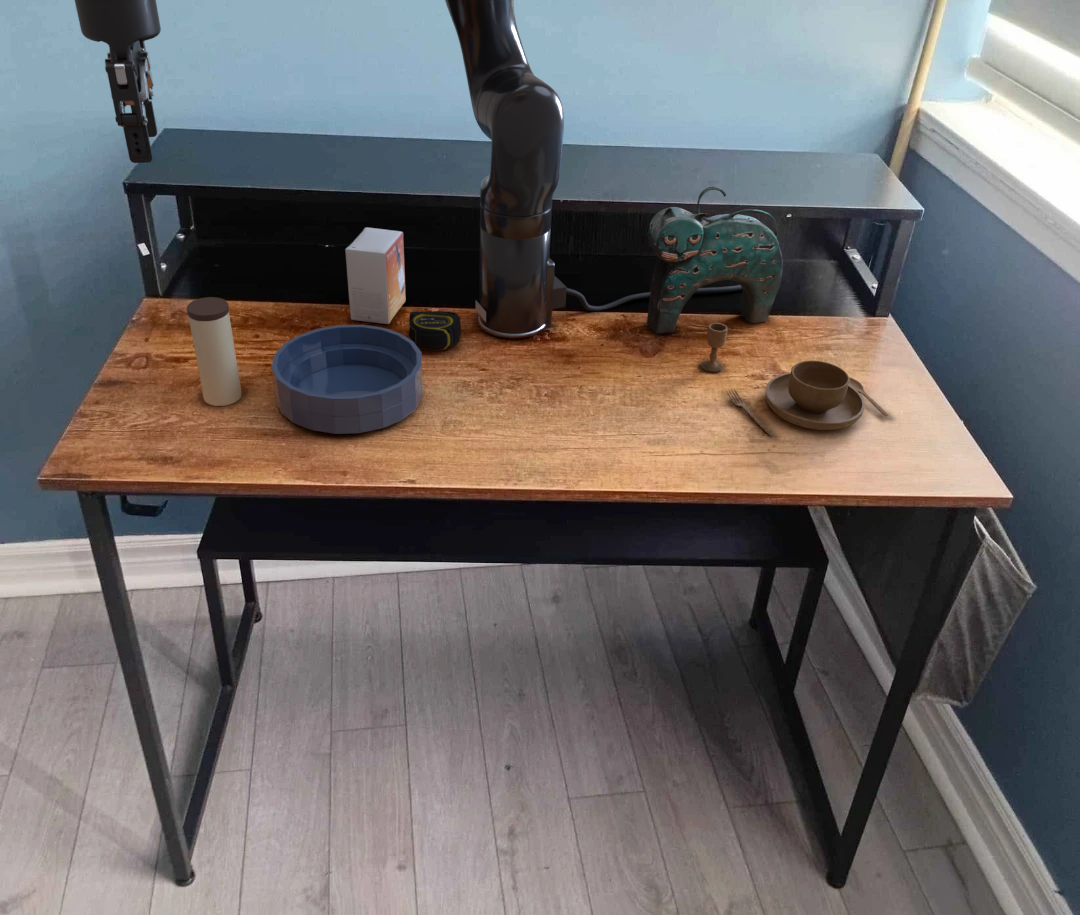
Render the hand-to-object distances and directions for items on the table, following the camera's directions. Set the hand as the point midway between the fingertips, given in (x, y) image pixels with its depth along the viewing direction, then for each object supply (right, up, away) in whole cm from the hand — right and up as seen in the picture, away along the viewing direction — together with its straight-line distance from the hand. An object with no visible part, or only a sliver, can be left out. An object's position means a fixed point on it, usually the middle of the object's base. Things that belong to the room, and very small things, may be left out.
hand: (144, 148), depth 106 cm
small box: (+20, -13, +31) cm, 39 cm away
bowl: (+20, -26, +12) cm, 35 cm away
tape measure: (+28, -18, +25) cm, 42 cm away
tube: (+5, -26, +11) cm, 29 cm away
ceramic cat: (+66, -14, +33) cm, 75 cm away
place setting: (+75, -25, +18) cm, 81 cm away
